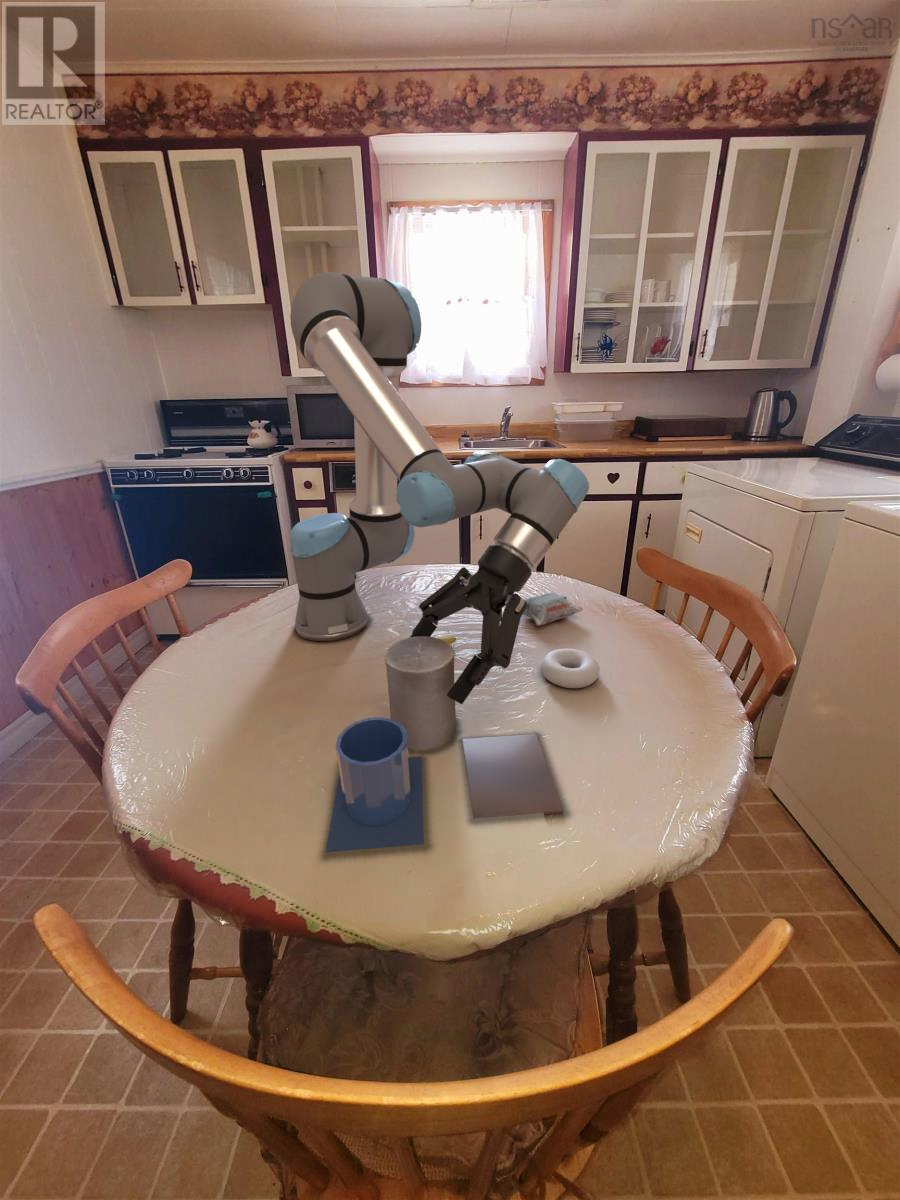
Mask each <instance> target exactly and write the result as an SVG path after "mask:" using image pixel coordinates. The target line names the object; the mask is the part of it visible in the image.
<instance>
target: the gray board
mask: <svg viewBox="0 0 900 1200" xmlns="http://www.w3.org/2000/svg"><path fill="white" fill-rule="evenodd" d="M461 742H462V748H463V755H464V762H465V770H466V776H467V783H468V790H469V797H470V798H469V799H470V804H471V811H472V818H473V819H479V818H480V819H481V818H491V817H492V818H493V817H494V818H495V817H504V816H505V817H506V816H517V815H529V814H542V813H543V816H546V815H547V816H550V815H559V814H560V815H561V814H562V815H563V814H564V812H565V811H564V808H563V805H562V801H561V798H560V796H559V793H558V791H557V788H556V784H555V783H554V780H553V777H552V774H551V772H550V771H551V770H550V767H549V766H548V763H547V760H546V757H545V753H544V752H543V749H542V746H541V743H540V740H539V738H538V734H537V733H528V734H514V735H501V736H499V735H498V736H487V737H485V736H483V737H469V738H461Z"/></svg>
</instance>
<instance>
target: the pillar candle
mask: <svg viewBox="0 0 900 1200" xmlns="http://www.w3.org/2000/svg"><path fill="white" fill-rule="evenodd" d="M439 638H440V637H434V636H431V637H427V636H417V637H410V636H409V637H406V638H403V639H399V640H398V641H396V642H394V643H392V644H391V645H390V646H389V647H388V648H387V650H386V652H385V668H386V669H385V670H386V680H387V690H388V691H387V692H388V703H389V713H390V719H392V720H394V721H396V722H398V723H399V724H401V725H402V726H403V728H404V729H405V731H406V732H407V743H408V749H410V750H415V751H416V750H417V751H419V750H420V751H425V750H432V749H436V748H439V747H440V746H441V747H442V746H443V745H444V744H446V743H448V742H449V741H450V740H451V739H452V738H453V736H454V734H455V733H456V730H457V716H456V701H455V700H453V699H451V698H449V697H448V696H447V694H448V692H449V691H450V689H451V688H452V686H453V685H454V684H455V682H456V681H455V655H454V654H455V651H454V648H453V646H452V644H448V643H447V642H446V641H443V640H442V639H439Z"/></svg>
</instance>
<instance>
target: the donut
mask: <svg viewBox="0 0 900 1200" xmlns="http://www.w3.org/2000/svg"><path fill="white" fill-rule="evenodd" d="M540 663H541V664H540V668H541V673H542V675H543V676H544V677H545V679H546V680H548V681H549V682H551V683H552V684H554V685H556V686H559V687H561V688H566V689H580V688H581V689H582V688H585V687H588V686H590V685H592V684H594V683H595V681H596V680H597V679H598V678H599V675H600V665H599V663H598V661H597V660H596V659H595V657H593V656H592V655H591V654H589V653H588V652H585V651H583V650H580V649H577V648H558V649H554V650H552V651H550V652H548V653H546V655H544V657H543V658H542V661H541V662H540Z"/></svg>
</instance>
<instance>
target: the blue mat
mask: <svg viewBox="0 0 900 1200" xmlns="http://www.w3.org/2000/svg"><path fill="white" fill-rule="evenodd" d="M409 768H410V781H411V801H410V804H409V807H408V808H407V810H406V811H405V812H404V814H403V815H402V816H400V817H399V818H398V819H396V820H395V821H393V822H391V823H388V824H385V825H380V826H367V825H362V824H360V823H358V822H356V821H354V820H353V819H352V818H351V817H350V816H349V814H348V813H347V810H346V806H345V802H344V797H343V791H342V784H341V778H340V774H339V775H338V781H337V786H336V791H335V792H336V793H335V798H334V804H333V809H332V815H331V821H330V826H329V831H328V832H329V833H328V837H327V843H326V848H325V853H335V852H345V851H346V852H347V851H357V850H371V849H383V848H384V849H385V848H394V847H395V848H396V847H407V846H418V845H419V846H420V845H424V844H425V840H424V839H425V838H424V837H425V835H424V804H423V803H424V802H423V801H424V800H423V769H422V756H412V757H411V756H409Z"/></svg>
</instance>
